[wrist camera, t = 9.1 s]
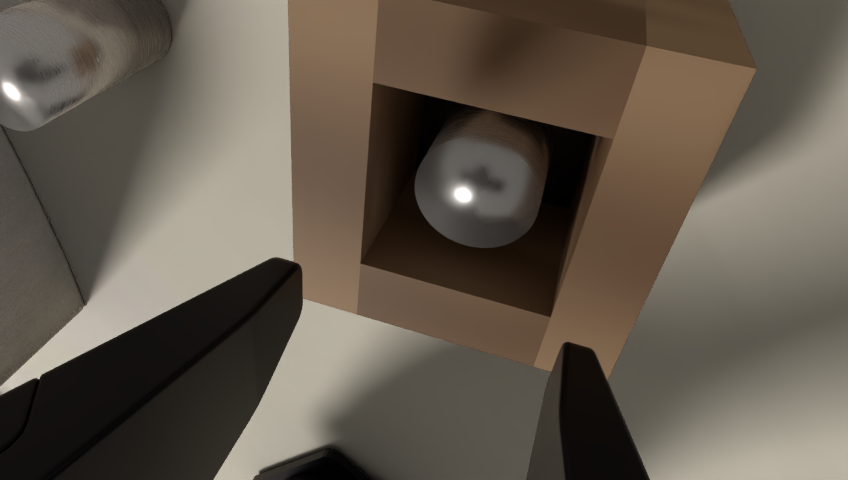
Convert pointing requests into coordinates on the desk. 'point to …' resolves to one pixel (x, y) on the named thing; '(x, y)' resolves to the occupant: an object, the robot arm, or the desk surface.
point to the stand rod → (72, 53)
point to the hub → (492, 171)
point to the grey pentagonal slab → (29, 270)
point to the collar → (523, 97)
